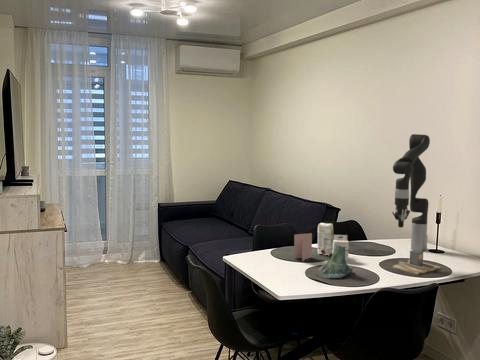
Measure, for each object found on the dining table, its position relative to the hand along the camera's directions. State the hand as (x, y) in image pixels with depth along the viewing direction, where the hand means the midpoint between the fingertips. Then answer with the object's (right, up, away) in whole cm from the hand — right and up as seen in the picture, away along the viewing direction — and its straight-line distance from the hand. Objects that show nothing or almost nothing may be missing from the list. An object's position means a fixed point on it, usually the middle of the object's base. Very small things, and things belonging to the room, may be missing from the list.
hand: (400, 227), depth 263 cm
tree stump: (-42, -23, -16) cm, 51 cm away
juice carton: (-39, -19, +23) cm, 49 cm away
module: (+6, -21, -7) cm, 23 cm away
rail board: (+6, -22, -7) cm, 24 cm away
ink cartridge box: (-32, -21, +10) cm, 40 cm away
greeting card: (-53, -21, +11) cm, 58 cm away
